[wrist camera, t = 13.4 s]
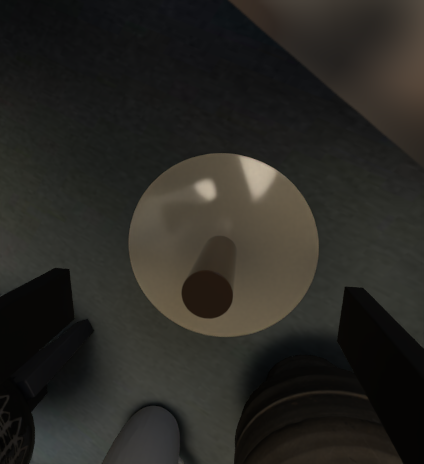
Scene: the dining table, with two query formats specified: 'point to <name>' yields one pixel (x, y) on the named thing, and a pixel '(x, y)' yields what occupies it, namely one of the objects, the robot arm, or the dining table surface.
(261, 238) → the lid
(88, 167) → the dining table surface
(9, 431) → the planter
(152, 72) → the dining table surface
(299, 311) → the dining table surface
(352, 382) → the pot
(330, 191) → the dining table surface
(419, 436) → the robot arm
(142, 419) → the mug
